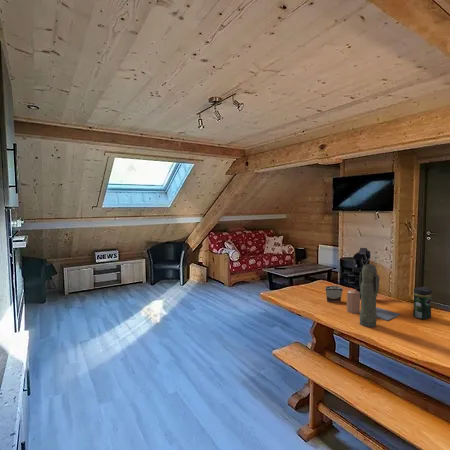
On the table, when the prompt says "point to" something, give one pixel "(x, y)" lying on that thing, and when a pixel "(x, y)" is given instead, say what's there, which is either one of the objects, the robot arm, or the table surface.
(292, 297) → the table surface
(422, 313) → the coffee jar
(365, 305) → the thermos
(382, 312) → the slate mat
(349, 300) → the brown piece
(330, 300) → the food container
